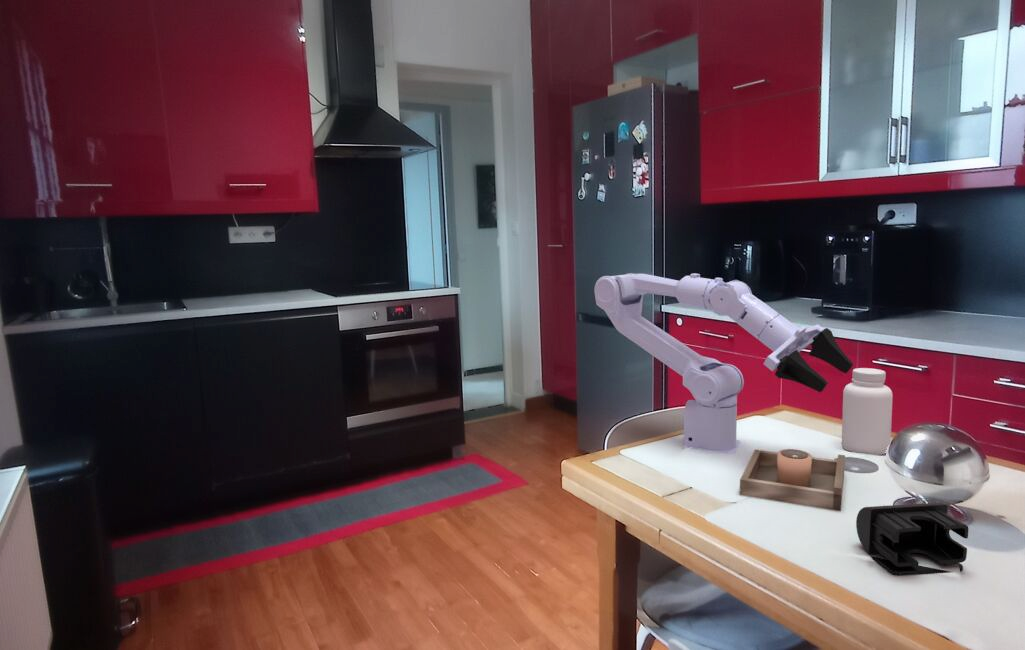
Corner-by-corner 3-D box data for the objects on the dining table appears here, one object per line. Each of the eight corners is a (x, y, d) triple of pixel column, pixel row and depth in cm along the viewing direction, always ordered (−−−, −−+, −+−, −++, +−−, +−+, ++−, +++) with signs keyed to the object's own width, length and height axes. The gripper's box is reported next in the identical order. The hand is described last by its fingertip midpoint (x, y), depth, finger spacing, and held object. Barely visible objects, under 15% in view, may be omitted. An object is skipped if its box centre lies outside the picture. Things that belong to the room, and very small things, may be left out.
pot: (774, 487, 101) (775, 456, 100) (778, 476, 105) (779, 446, 104) (809, 492, 98) (810, 460, 97) (811, 481, 102) (812, 450, 102)
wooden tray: (739, 497, 99) (740, 473, 98) (754, 465, 111) (755, 444, 111) (840, 514, 92) (841, 488, 91) (843, 478, 105) (844, 455, 104)
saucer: (831, 472, 107) (831, 467, 107) (833, 459, 113) (833, 454, 113) (878, 478, 104) (878, 474, 104) (878, 464, 110) (878, 460, 110)
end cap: (927, 543, 83) (930, 494, 82) (969, 571, 76) (973, 518, 75) (853, 548, 82) (856, 499, 81) (889, 577, 75) (892, 523, 74)
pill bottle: (877, 442, 121) (881, 365, 119) (898, 456, 114) (903, 375, 111) (834, 442, 122) (837, 366, 120) (852, 456, 114) (855, 375, 112)
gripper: (753, 327, 104) (823, 380, 97) (803, 296, 111) (872, 344, 104) (738, 355, 109) (804, 408, 102) (787, 324, 116) (852, 372, 109)
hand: (837, 378), depth 104 cm, fingers open, 7 cm apart
